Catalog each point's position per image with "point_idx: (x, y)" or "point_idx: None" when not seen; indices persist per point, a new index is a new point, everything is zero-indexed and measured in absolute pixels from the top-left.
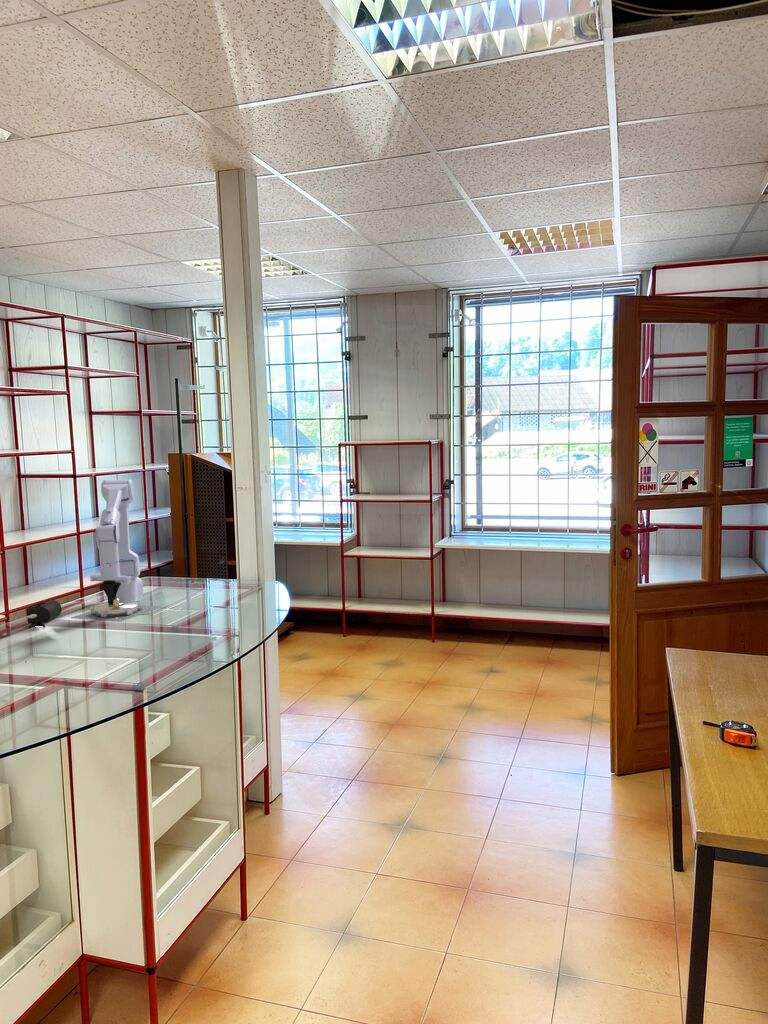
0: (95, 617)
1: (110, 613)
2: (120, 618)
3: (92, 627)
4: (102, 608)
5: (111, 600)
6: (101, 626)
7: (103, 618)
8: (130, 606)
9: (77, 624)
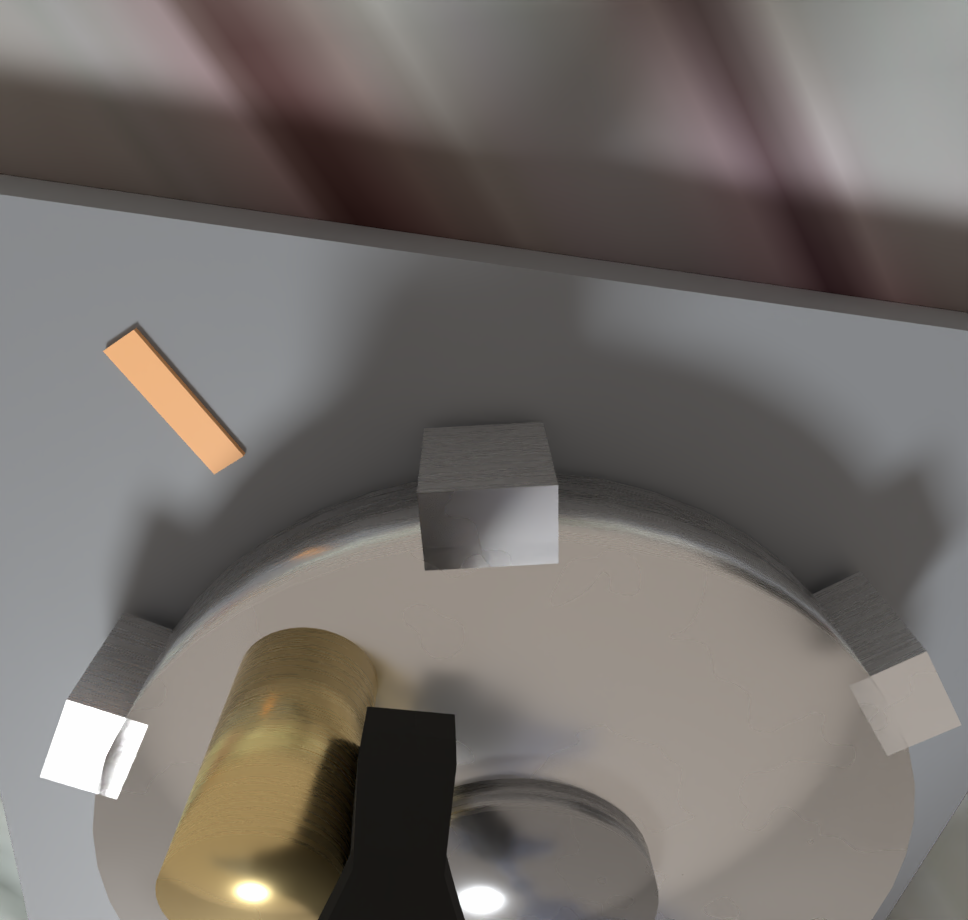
0: (691, 446)
1: (370, 522)
2: (106, 421)
3: (512, 7)
4: (647, 674)
5: (353, 819)
6: (363, 117)
7: (473, 389)
8: (156, 839)
9: (959, 225)
